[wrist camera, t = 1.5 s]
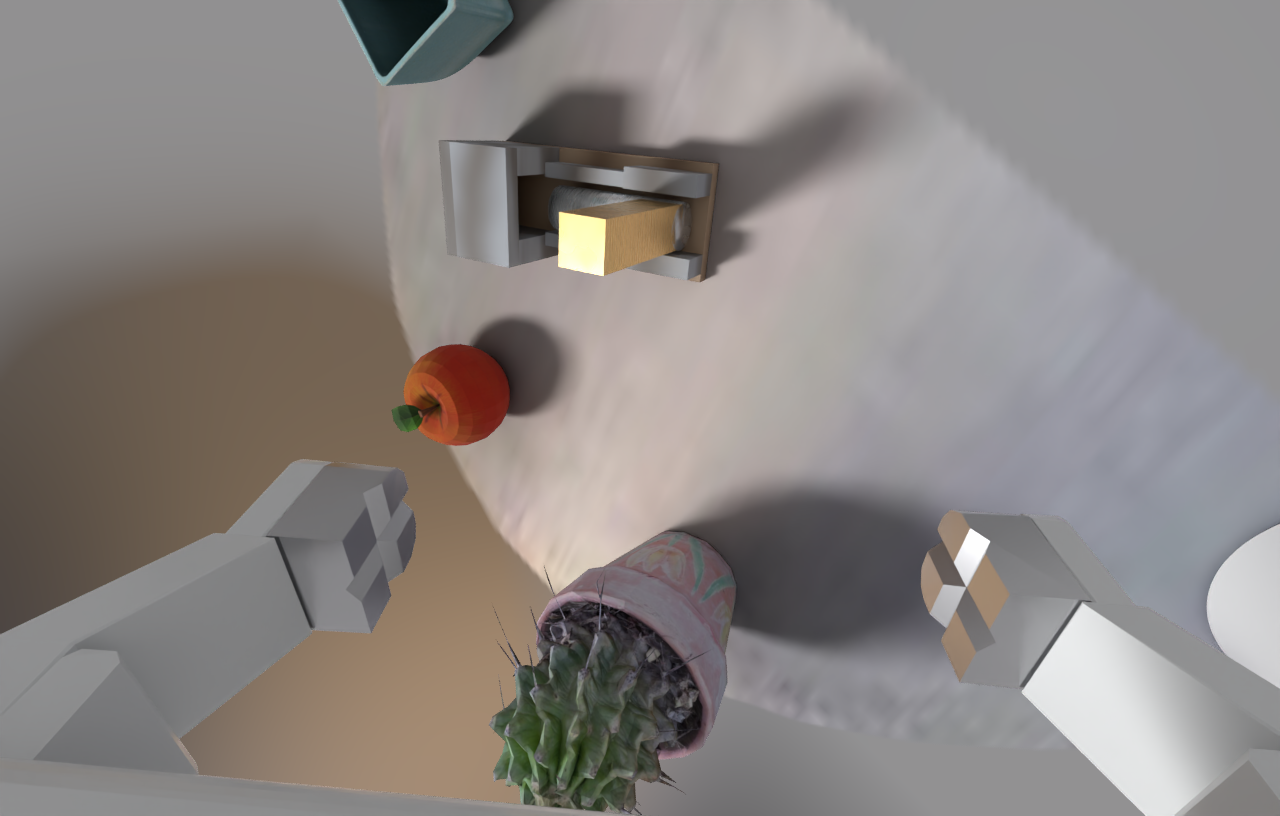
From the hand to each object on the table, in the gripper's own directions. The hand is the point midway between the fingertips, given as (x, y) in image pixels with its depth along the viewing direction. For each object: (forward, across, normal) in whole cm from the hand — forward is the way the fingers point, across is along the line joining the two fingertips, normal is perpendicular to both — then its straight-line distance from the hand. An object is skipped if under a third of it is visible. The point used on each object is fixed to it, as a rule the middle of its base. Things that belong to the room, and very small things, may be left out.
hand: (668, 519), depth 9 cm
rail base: (+39, +5, +5) cm, 40 cm away
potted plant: (+32, -4, +36) cm, 48 cm away
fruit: (+43, +17, +23) cm, 52 cm away
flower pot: (+46, +16, -8) cm, 49 cm away
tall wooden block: (+37, +3, +5) cm, 38 cm away
